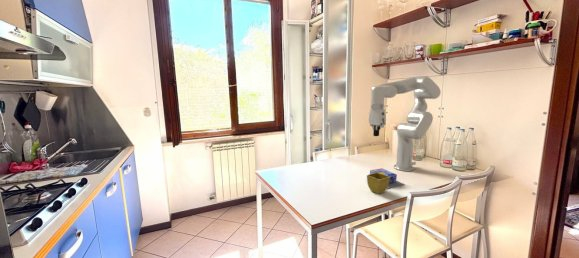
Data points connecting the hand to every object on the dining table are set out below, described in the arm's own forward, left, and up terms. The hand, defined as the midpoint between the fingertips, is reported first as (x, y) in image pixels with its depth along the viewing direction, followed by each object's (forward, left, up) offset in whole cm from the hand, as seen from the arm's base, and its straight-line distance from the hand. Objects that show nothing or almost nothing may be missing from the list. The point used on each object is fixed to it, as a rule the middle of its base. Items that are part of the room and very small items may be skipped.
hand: (376, 135), depth 157 cm
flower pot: (+16, +20, -26) cm, 37 cm away
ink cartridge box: (+2, +4, -23) cm, 23 cm away
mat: (+2, +12, -26) cm, 29 cm away
